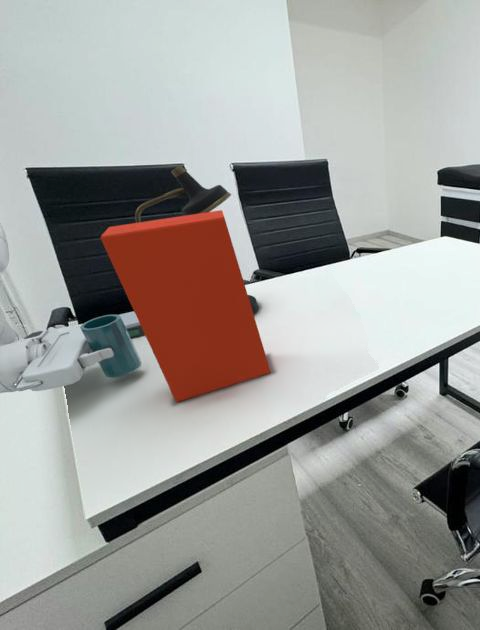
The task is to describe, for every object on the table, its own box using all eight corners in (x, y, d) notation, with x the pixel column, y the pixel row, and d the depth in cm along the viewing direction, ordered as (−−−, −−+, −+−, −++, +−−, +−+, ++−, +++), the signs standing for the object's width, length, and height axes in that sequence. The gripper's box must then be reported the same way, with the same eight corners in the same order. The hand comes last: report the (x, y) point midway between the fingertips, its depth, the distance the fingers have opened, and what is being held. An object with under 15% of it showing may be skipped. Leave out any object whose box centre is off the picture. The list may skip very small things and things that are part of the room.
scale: (103, 345, 95) (96, 333, 93) (110, 328, 103) (105, 317, 102) (159, 332, 99) (153, 320, 98) (162, 316, 108) (157, 305, 106)
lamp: (265, 317, 103) (221, 163, 85) (173, 339, 95) (105, 175, 78) (260, 296, 116) (222, 159, 98) (180, 314, 109) (122, 169, 91)
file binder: (271, 373, 79) (224, 217, 64) (176, 403, 72) (99, 236, 58) (265, 355, 85) (221, 209, 71) (178, 381, 79) (109, 226, 64)
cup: (102, 381, 76) (76, 333, 71) (108, 365, 81) (84, 319, 76) (139, 371, 79) (117, 323, 74) (143, 356, 84) (122, 311, 79)
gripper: (-4, 377, 63) (98, 352, 68) (38, 327, 79) (118, 310, 84) (17, 408, 65) (114, 381, 71) (53, 353, 82) (130, 335, 87)
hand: (116, 342), depth 78 cm, fingers closed on cup, 6 cm apart
